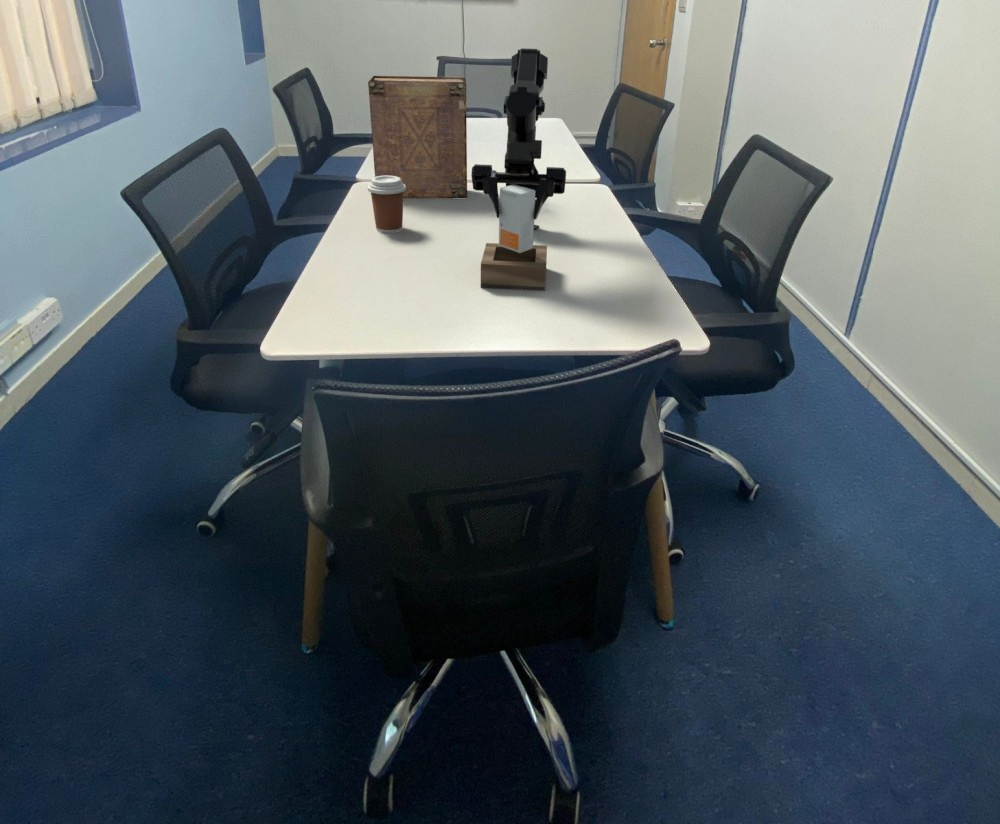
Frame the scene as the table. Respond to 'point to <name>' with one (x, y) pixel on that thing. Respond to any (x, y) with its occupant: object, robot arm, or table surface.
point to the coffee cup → (387, 202)
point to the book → (420, 133)
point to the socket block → (513, 268)
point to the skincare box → (516, 218)
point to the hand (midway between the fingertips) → (516, 217)
